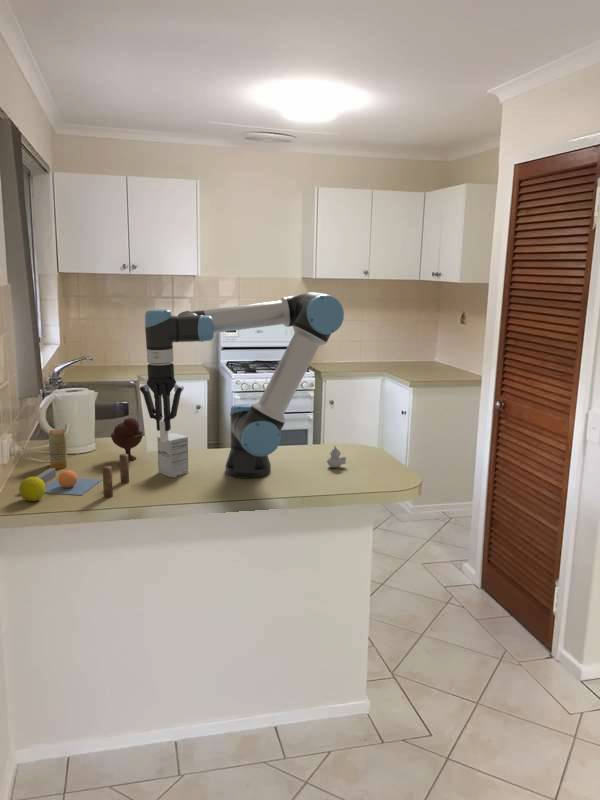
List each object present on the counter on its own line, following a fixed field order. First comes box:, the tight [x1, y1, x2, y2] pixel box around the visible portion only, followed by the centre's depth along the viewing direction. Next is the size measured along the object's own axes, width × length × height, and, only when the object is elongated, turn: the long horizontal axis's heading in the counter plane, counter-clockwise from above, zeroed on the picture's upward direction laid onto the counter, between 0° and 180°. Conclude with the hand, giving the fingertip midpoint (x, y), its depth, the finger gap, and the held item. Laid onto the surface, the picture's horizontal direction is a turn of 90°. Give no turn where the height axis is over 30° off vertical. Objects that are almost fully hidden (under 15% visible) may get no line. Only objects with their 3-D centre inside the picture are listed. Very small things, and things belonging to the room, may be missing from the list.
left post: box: [102, 465, 114, 499], centre depth 193 cm, size 3×3×9 cm
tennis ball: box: [18, 476, 46, 502], centre depth 189 cm, size 7×7×7 cm
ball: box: [57, 469, 78, 488], centre depth 200 cm, size 6×6×6 cm
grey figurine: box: [326, 445, 347, 469], centre depth 224 cm, size 5×7×8 cm
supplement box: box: [156, 432, 189, 478], centre depth 215 cm, size 7×7×13 cm
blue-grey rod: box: [35, 467, 57, 484], centre depth 203 cm, size 2×16×2 cm, turn 173°
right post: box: [119, 453, 130, 485], centre depth 205 cm, size 3×3×9 cm
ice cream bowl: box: [110, 417, 144, 462], centre depth 228 cm, size 11×11×15 cm
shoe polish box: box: [48, 429, 68, 469], centre depth 220 cm, size 5×5×12 cm
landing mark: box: [44, 477, 103, 496], centre depth 202 cm, size 14×14×1 cm
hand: (164, 441), depth 195 cm, fingers closed
